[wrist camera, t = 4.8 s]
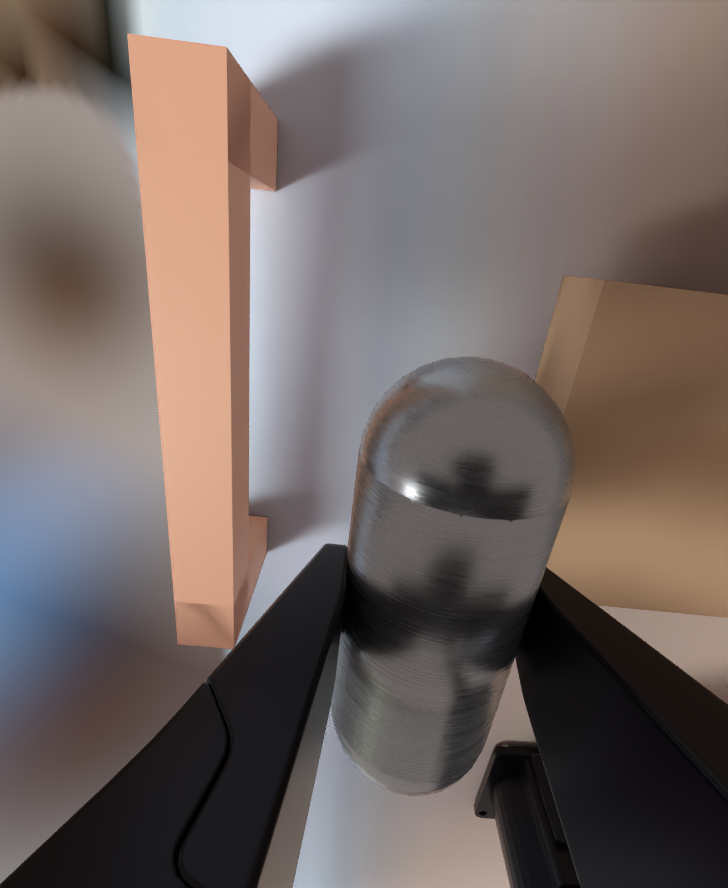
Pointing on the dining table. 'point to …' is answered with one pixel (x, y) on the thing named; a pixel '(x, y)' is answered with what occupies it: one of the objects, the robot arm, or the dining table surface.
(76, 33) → the dining table surface
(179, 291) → the bar
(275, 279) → the dining table surface
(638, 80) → the dining table surface
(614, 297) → the slab
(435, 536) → the roller
